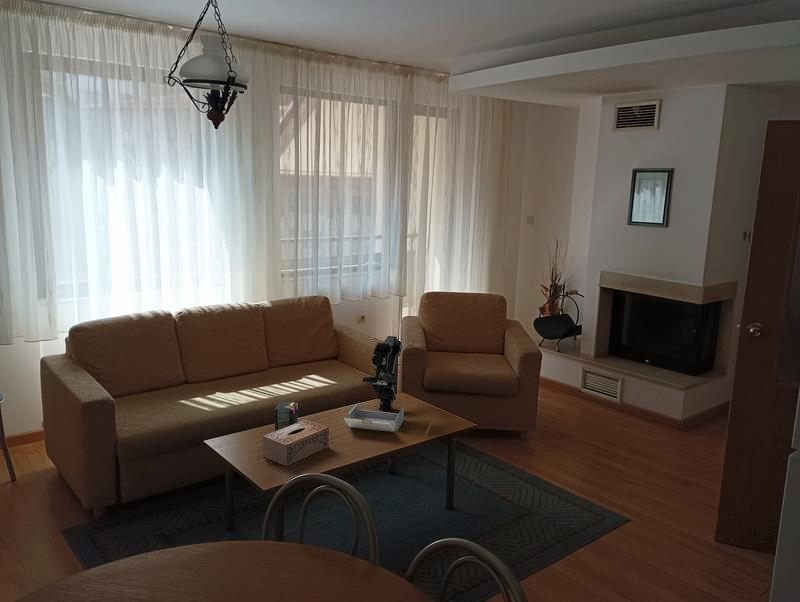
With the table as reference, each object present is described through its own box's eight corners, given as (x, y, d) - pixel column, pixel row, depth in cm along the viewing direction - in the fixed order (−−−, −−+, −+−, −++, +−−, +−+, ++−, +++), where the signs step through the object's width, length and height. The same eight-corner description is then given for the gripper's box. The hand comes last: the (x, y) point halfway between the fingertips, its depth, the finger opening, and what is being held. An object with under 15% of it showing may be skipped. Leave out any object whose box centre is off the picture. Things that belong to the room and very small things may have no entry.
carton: (356, 416, 324) (356, 403, 322) (403, 421, 319) (403, 408, 317) (347, 427, 309) (347, 413, 308) (397, 432, 304) (397, 419, 303)
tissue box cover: (306, 439, 294) (306, 419, 292) (328, 447, 286) (328, 427, 284) (263, 457, 274) (263, 436, 272) (286, 467, 266) (285, 445, 264)
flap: (350, 426, 309) (344, 417, 298) (394, 430, 304) (389, 422, 293) (350, 427, 308) (343, 419, 297) (393, 432, 304) (389, 424, 293)
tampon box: (294, 439, 294) (293, 409, 291) (274, 438, 294) (274, 409, 291) (298, 430, 304) (298, 401, 302) (279, 429, 304) (279, 401, 302)
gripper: (377, 365, 306) (374, 398, 304) (405, 369, 318) (402, 400, 316) (363, 365, 314) (360, 396, 312) (391, 369, 327) (388, 399, 324)
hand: (378, 398), depth 316 cm, fingers closed
